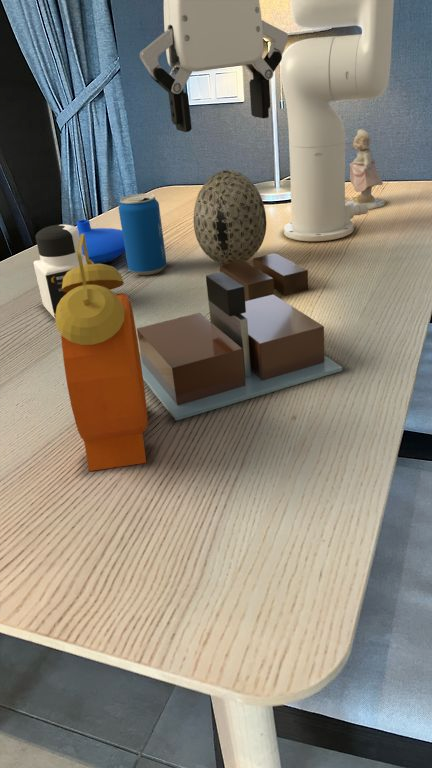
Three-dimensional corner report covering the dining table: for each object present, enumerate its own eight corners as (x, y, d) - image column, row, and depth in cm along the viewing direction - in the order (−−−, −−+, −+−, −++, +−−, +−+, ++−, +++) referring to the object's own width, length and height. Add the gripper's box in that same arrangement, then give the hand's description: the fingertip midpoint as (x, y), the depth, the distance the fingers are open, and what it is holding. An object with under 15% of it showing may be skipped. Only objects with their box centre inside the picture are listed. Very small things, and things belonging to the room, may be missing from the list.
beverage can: (161, 276, 109) (151, 202, 103) (123, 277, 110) (111, 203, 104) (171, 263, 114) (162, 192, 108) (135, 264, 116) (124, 193, 110)
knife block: (276, 271, 106) (275, 252, 104) (308, 289, 98) (308, 269, 96) (221, 284, 103) (219, 265, 101) (249, 304, 95) (248, 284, 93)
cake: (274, 323, 88) (273, 287, 86) (342, 371, 75) (342, 330, 72) (129, 362, 82) (123, 324, 79) (175, 421, 69) (169, 378, 66)
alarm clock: (153, 471, 61) (118, 261, 52) (85, 481, 61) (38, 271, 51) (147, 401, 73) (118, 218, 63) (90, 409, 72) (53, 226, 63)
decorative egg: (274, 251, 115) (269, 161, 107) (260, 275, 105) (254, 177, 98) (209, 252, 118) (200, 164, 111) (189, 275, 108) (178, 180, 101)
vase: (100, 242, 130) (93, 205, 126) (151, 255, 119) (146, 215, 116) (28, 265, 120) (19, 226, 117) (78, 281, 110) (69, 239, 107)
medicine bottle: (55, 320, 96) (37, 238, 90) (42, 305, 102) (24, 228, 96) (102, 308, 99) (87, 227, 93) (87, 294, 104) (72, 218, 99)
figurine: (319, 203, 138) (334, 126, 134) (349, 208, 144) (365, 135, 140) (360, 210, 130) (378, 129, 126) (390, 215, 137) (408, 138, 133)
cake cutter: (223, 346, 82) (216, 268, 77) (256, 374, 75) (250, 290, 70) (208, 350, 82) (200, 271, 77) (240, 379, 74) (233, 294, 69)
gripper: (265, -56, 74) (273, 109, 83) (116, -43, 69) (141, 132, 77) (299, -64, 68) (304, 115, 77) (138, -51, 63) (163, 140, 71)
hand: (222, 123), depth 77 cm, fingers open, 9 cm apart
